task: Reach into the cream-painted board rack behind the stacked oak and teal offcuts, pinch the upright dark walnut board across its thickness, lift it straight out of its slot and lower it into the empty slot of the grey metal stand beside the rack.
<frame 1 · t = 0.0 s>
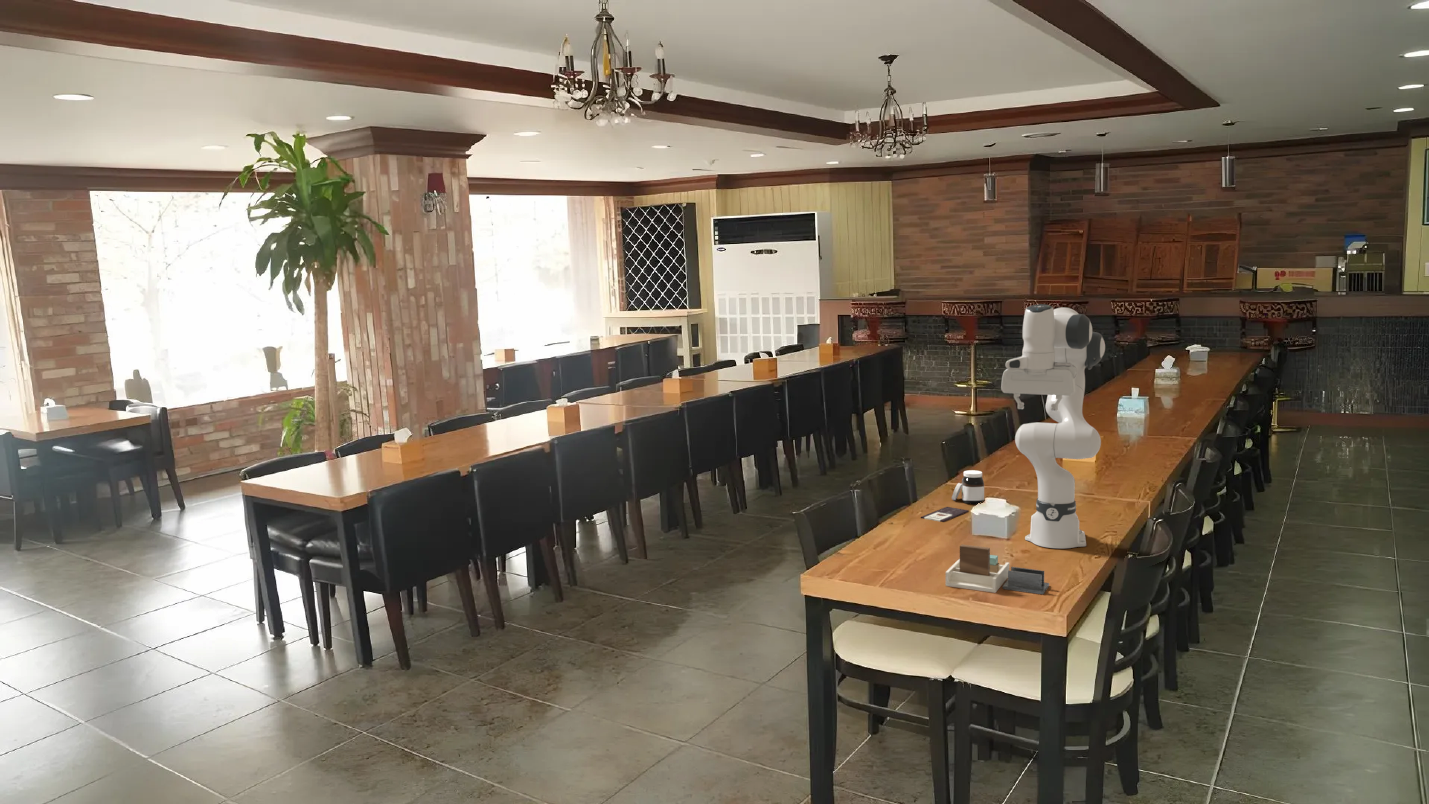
hand: (1037, 409, 278), 48 cm above the table, fingers open, 8 cm apart
chocolate bar: (945, 516, 349), on the table
stand: (1025, 587, 270), on the table
oak offcut: (982, 572, 281), point 1 cm above the table, touching rack, teal offcut
teal offcut: (984, 562, 281), point 4 cm above the table, touching oak offcut
spread jar: (967, 502, 367), on the table
rack: (977, 580, 277), on the table
walnut board: (974, 581, 274), point 1 cm above the table, touching rack
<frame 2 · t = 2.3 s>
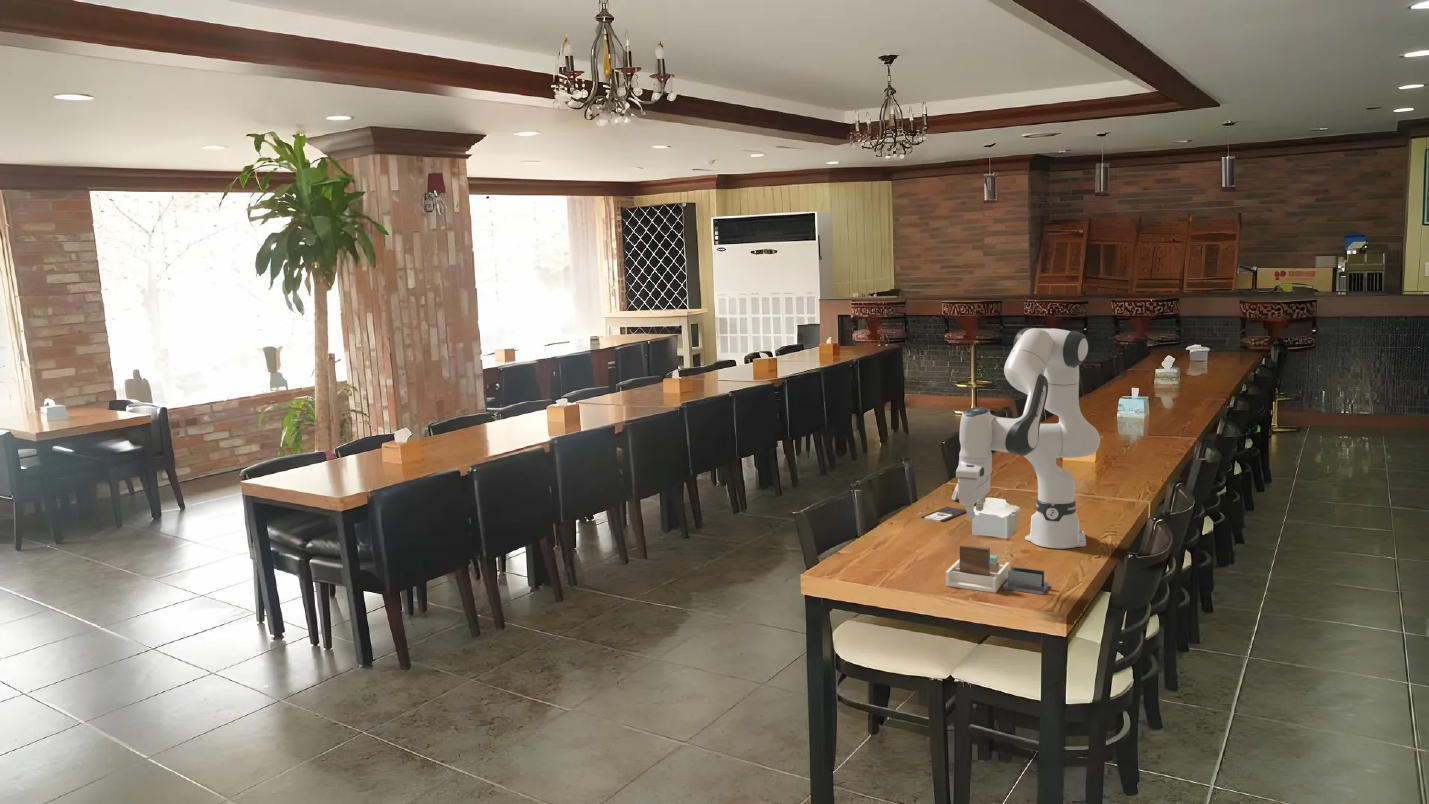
hand: (975, 514, 271), 21 cm above the table, fingers open, 8 cm apart
nothing on the table moved.
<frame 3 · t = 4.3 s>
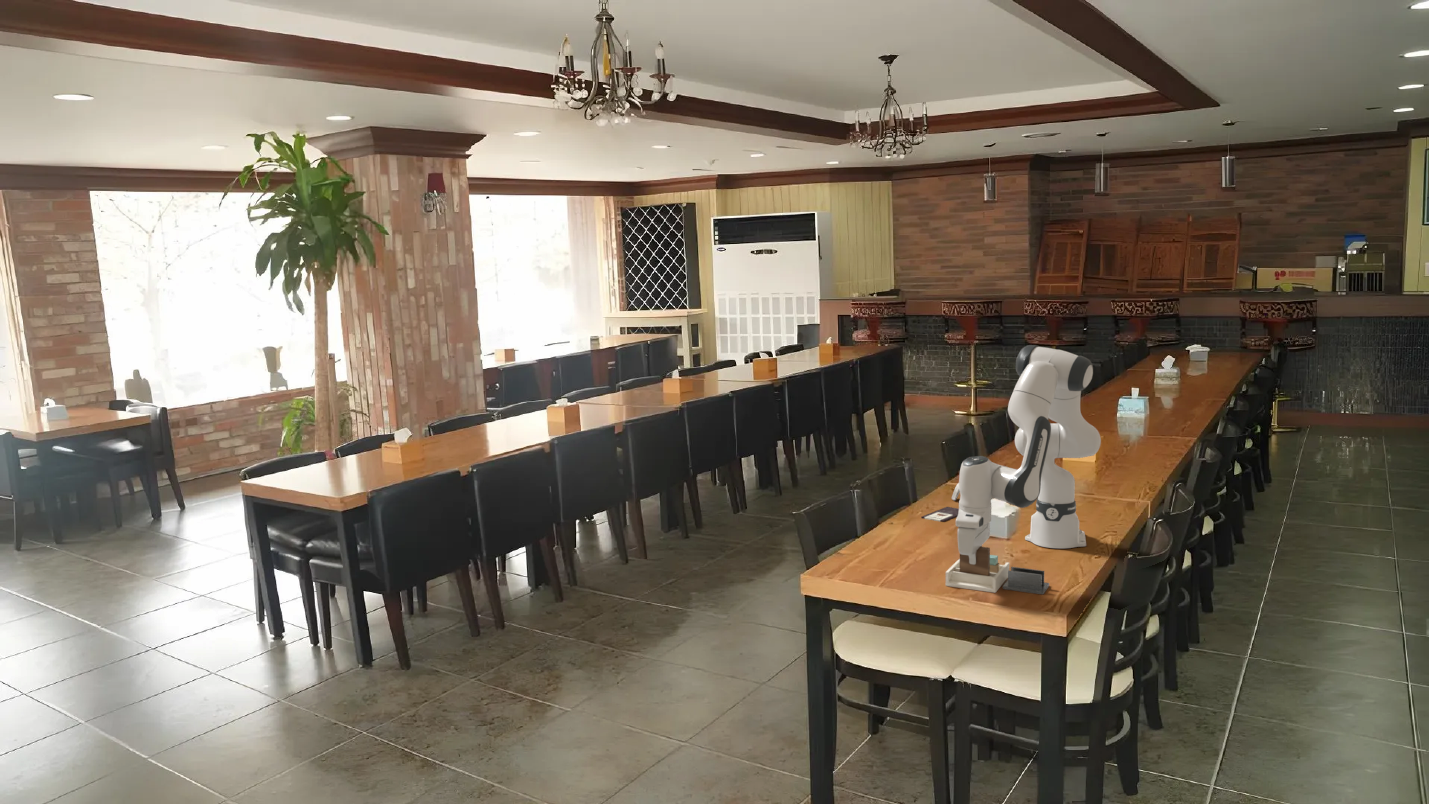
hand: (974, 562, 273), 7 cm above the table, fingers closed on walnut board, 2 cm apart
walnut board: (974, 581, 274), point 1 cm above the table, touching gripper, rack
everything else where it was.
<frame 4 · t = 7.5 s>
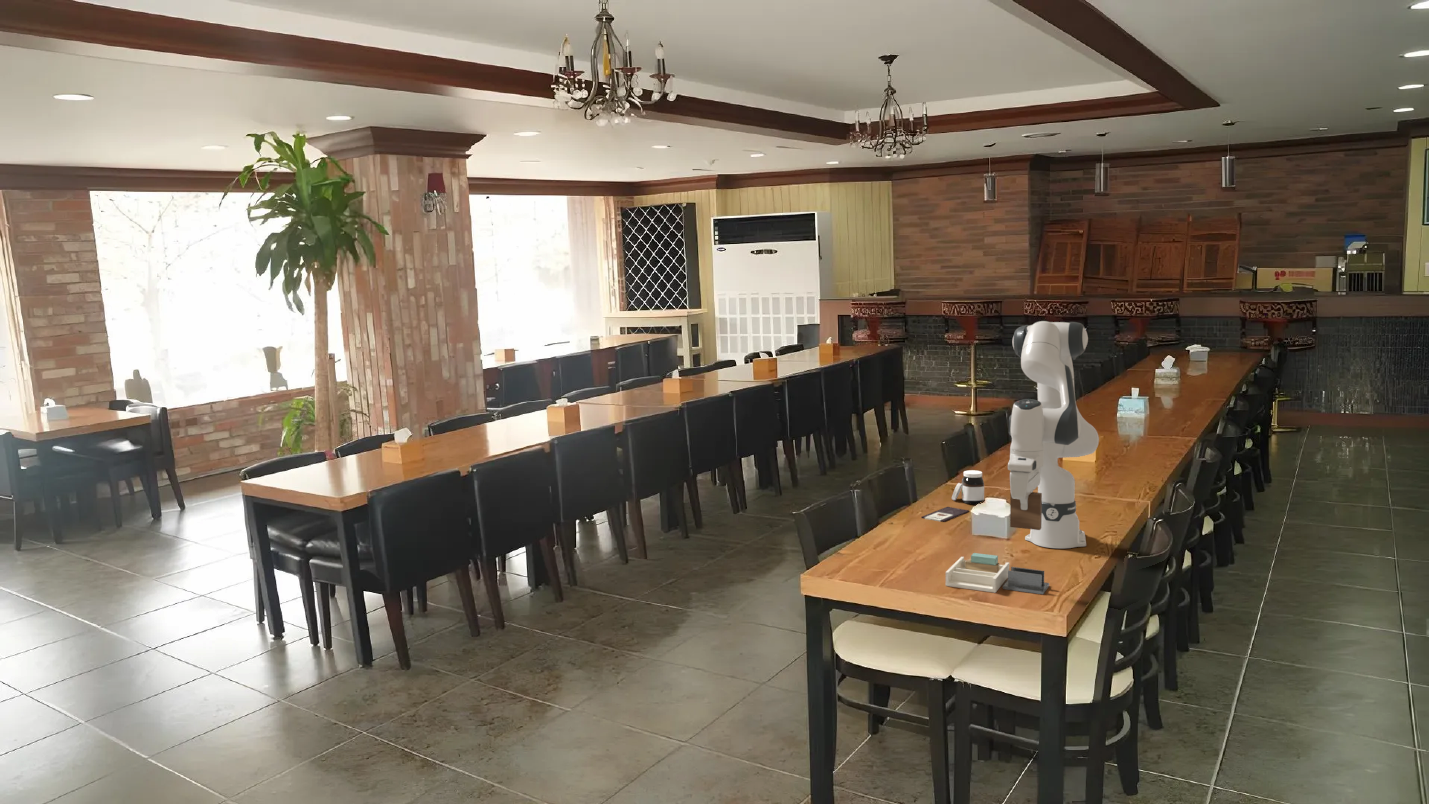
hand: (1025, 507, 268), 23 cm above the table, fingers closed on walnut board
walnut board: (1025, 527, 268), point 17 cm above the table, touching gripper
everything else where it was.
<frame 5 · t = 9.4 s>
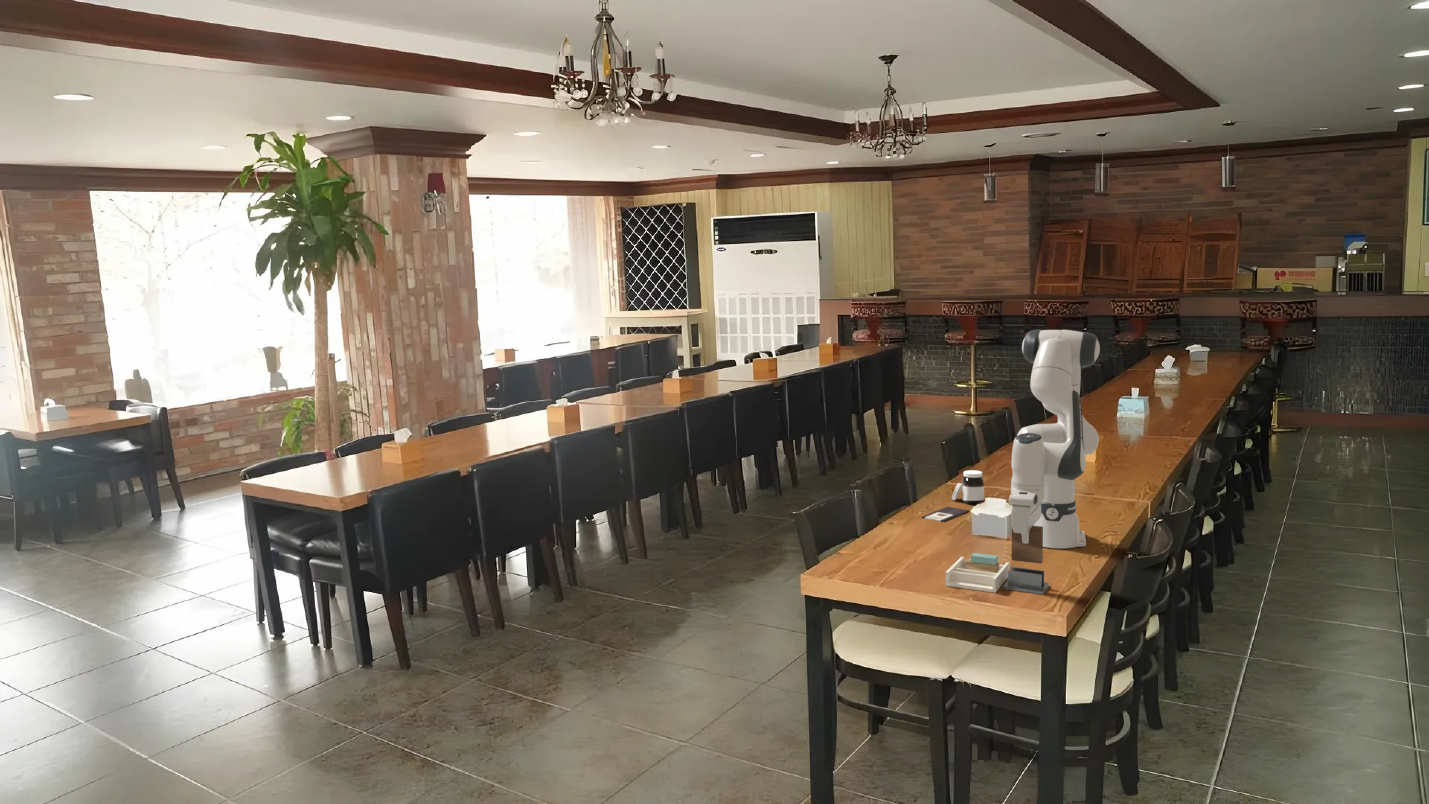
hand: (1027, 541, 268), 13 cm above the table, fingers closed on walnut board
walnut board: (1027, 561, 269), point 8 cm above the table, touching gripper
everything else where it was.
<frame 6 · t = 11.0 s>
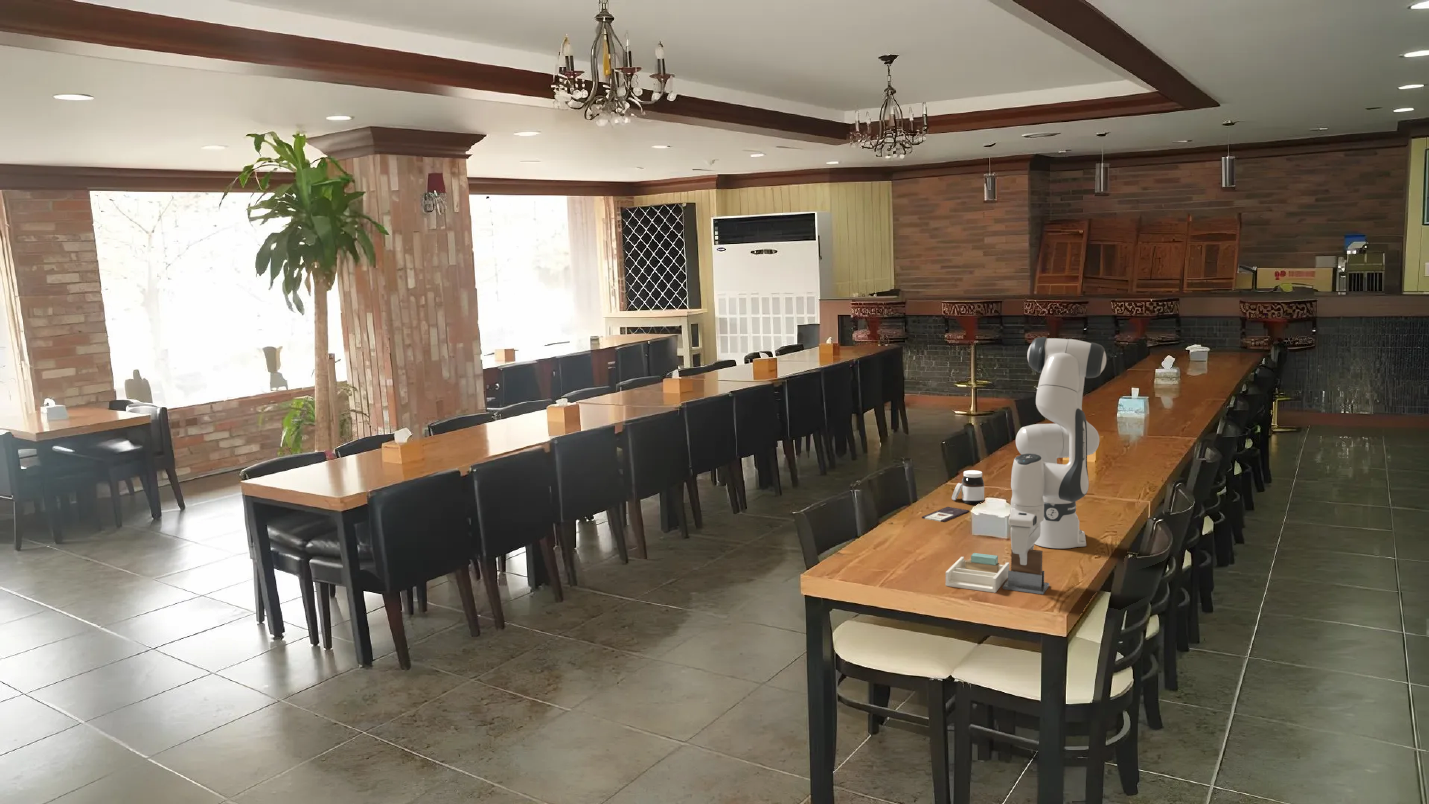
hand: (1026, 561, 269), 8 cm above the table, fingers open, 5 cm apart
walnut board: (1026, 584, 270), point 1 cm above the table, touching stand
everything else where it was.
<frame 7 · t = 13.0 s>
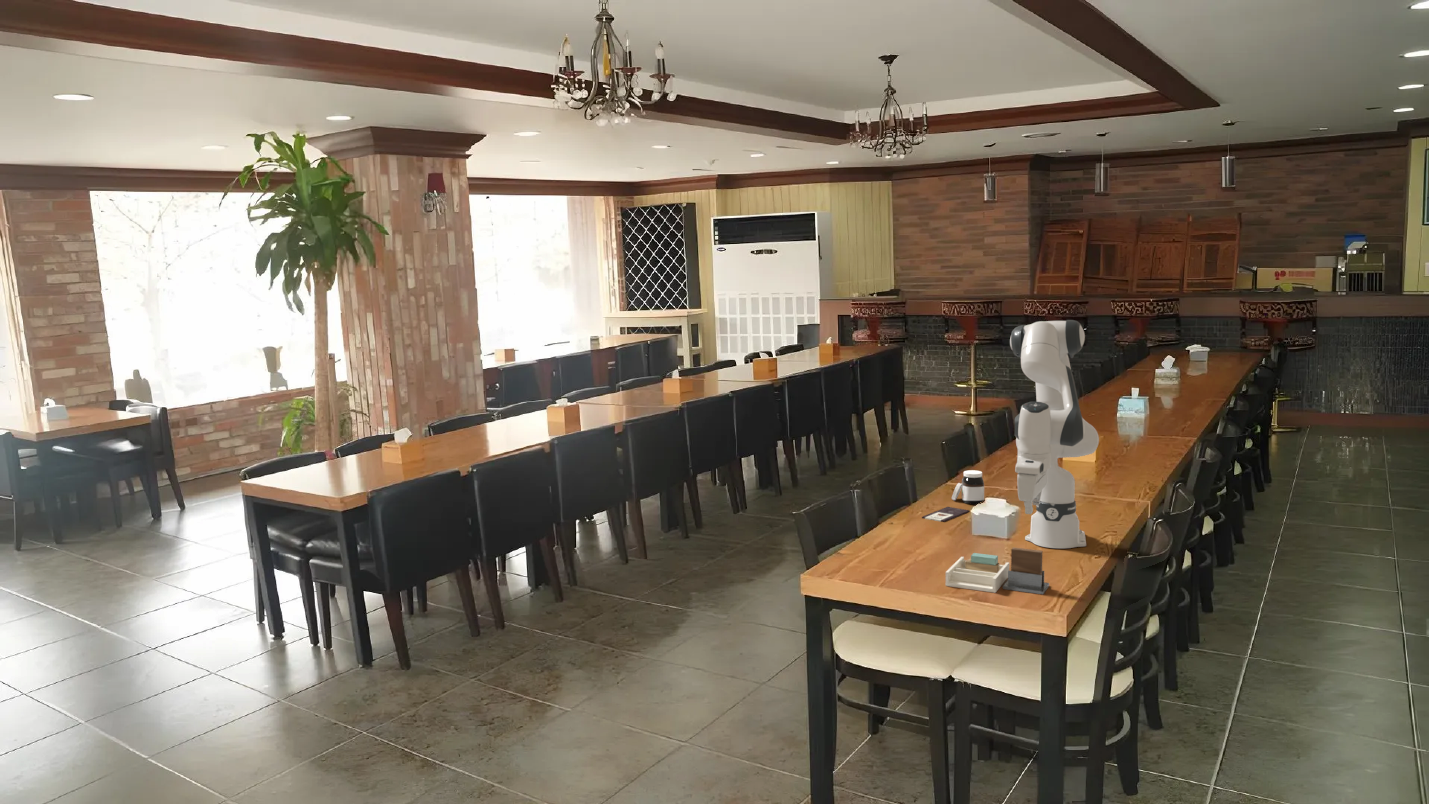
hand: (1032, 509, 270), 22 cm above the table, fingers open, 8 cm apart
nothing on the table moved.
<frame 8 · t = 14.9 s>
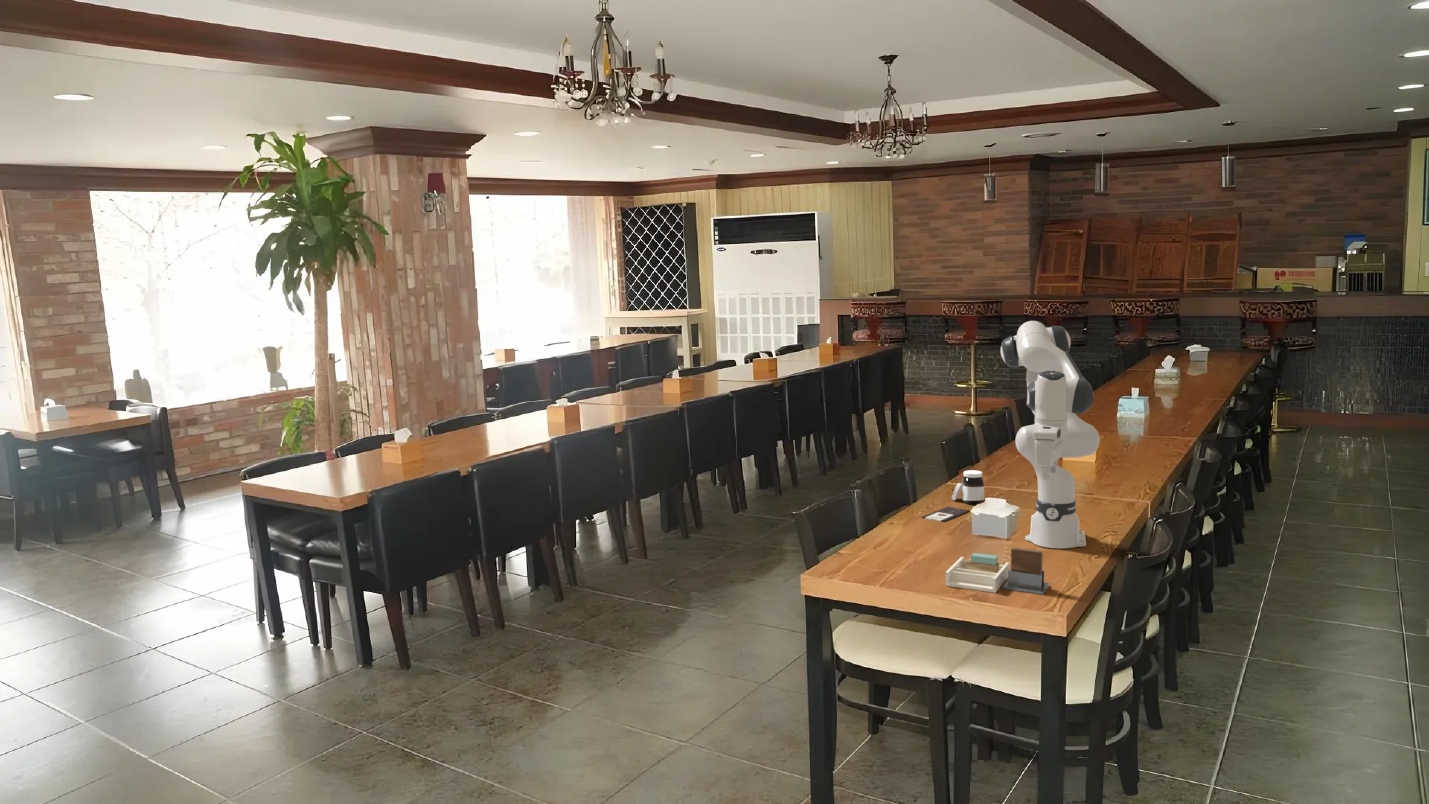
hand: (1049, 475, 278), 29 cm above the table, fingers open, 8 cm apart
nothing on the table moved.
at the end: walnut board 0.1 cm off-centre on the stand, point 0.8 cm above the stand's base; walnut board tilted 0°; the gripper is holding nothing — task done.
